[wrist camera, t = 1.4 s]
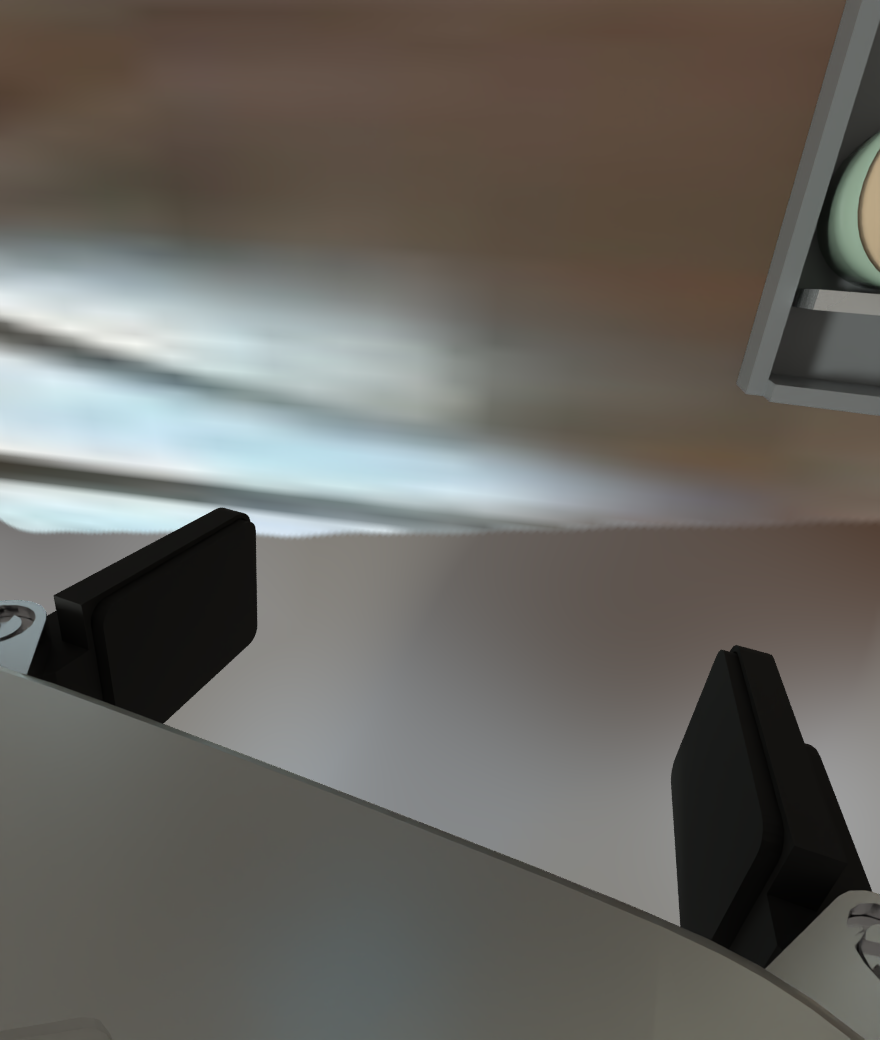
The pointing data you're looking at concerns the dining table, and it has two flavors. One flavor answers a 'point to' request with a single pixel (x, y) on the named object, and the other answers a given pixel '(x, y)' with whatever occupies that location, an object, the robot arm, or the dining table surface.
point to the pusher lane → (797, 257)
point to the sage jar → (854, 217)
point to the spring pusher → (837, 301)
